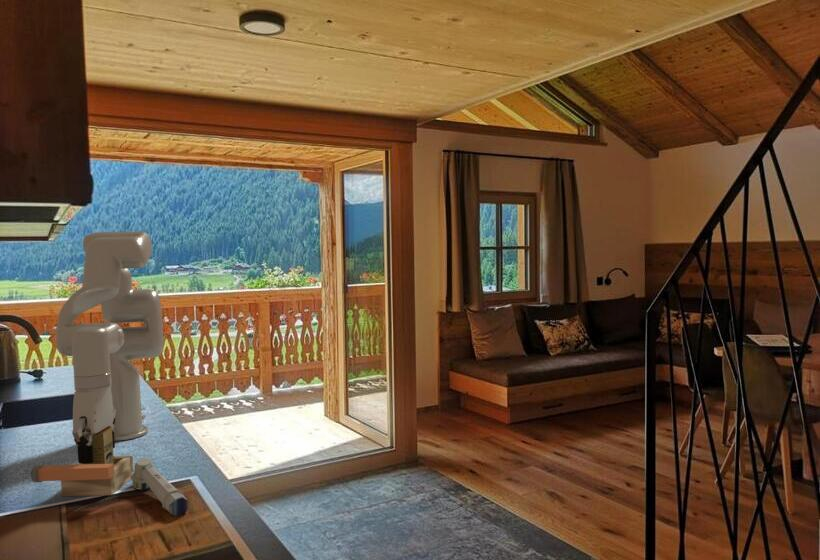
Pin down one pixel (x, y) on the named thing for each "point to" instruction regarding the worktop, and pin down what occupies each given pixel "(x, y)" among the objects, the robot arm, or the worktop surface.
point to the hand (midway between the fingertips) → (97, 455)
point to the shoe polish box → (103, 447)
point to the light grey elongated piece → (159, 487)
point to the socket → (101, 480)
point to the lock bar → (72, 472)
